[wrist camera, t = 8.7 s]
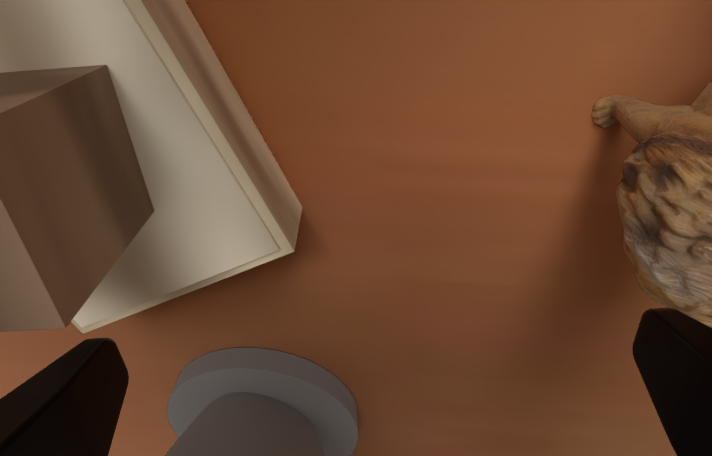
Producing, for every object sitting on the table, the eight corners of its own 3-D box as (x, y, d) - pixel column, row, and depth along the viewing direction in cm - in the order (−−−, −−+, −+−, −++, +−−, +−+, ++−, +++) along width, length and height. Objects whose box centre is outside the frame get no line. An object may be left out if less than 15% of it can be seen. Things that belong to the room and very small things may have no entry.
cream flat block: (98, -160, 15) (17, -197, 11) (303, 203, 21) (293, 254, 18) (-129, -15, 17) (-262, -6, 13) (122, 277, 23) (80, 337, 20)
